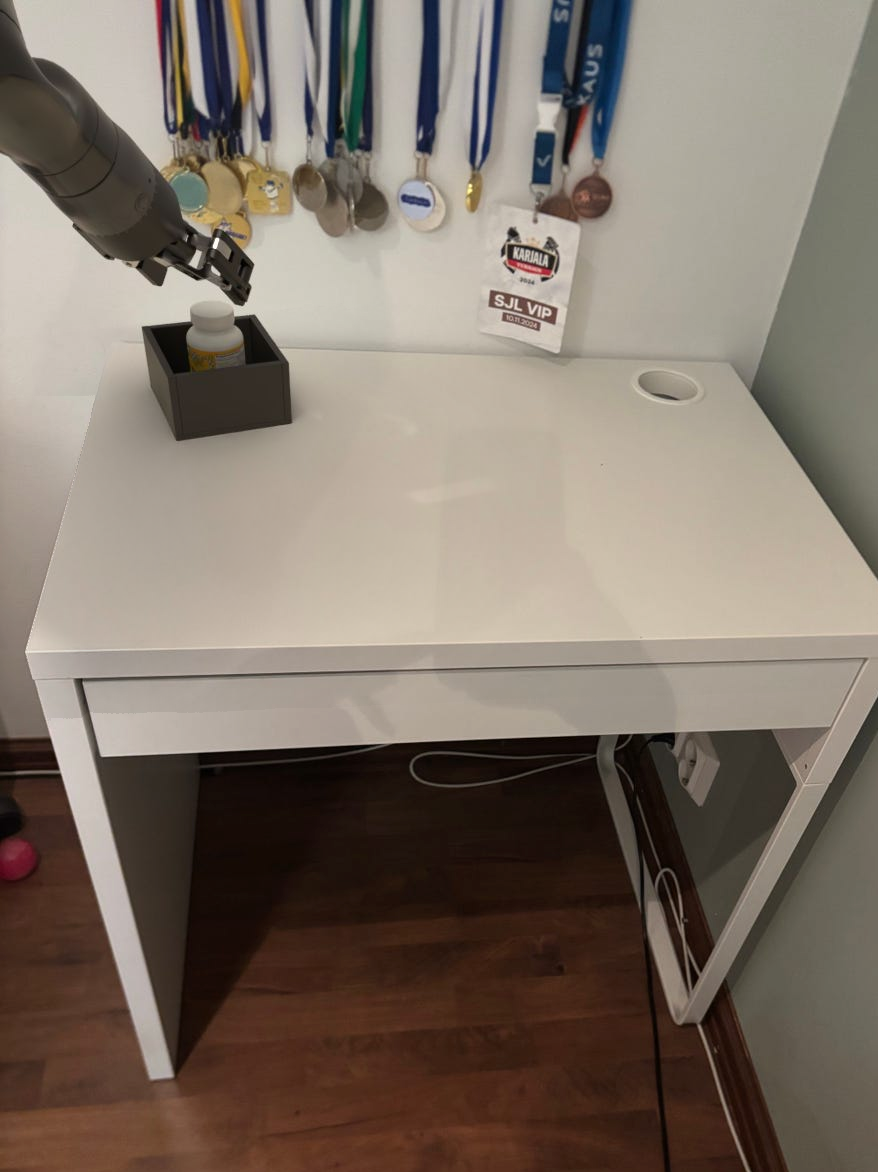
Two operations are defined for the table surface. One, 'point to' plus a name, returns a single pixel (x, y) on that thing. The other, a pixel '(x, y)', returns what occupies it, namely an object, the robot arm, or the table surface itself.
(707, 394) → the table surface
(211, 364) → the supplement bottle
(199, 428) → the basket
